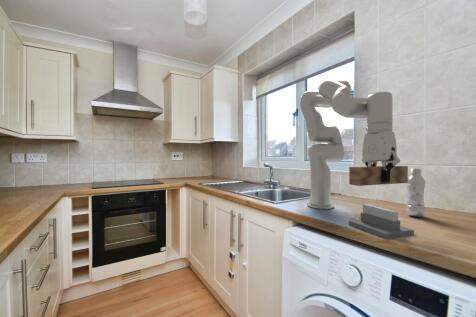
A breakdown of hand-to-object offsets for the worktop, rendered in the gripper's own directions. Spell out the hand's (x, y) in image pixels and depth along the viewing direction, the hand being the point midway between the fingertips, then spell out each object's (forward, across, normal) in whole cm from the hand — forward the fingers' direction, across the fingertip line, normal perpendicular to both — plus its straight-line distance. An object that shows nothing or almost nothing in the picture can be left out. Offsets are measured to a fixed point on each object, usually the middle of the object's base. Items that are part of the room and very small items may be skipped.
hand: (379, 180), depth 78 cm
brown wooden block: (+1, 0, 0) cm, 1 cm away
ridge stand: (+17, 0, 0) cm, 17 cm away
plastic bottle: (+17, -8, +29) cm, 35 cm away
